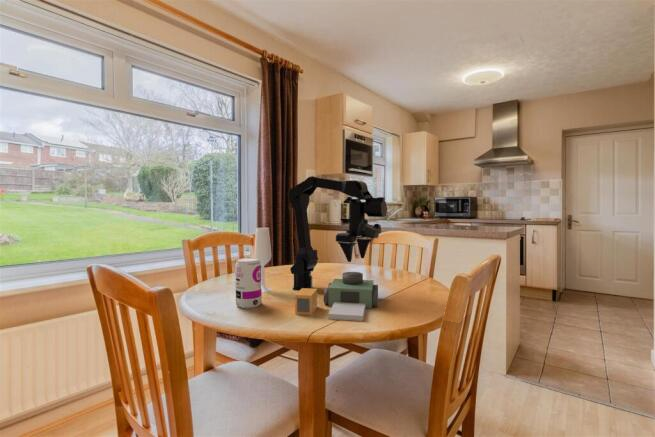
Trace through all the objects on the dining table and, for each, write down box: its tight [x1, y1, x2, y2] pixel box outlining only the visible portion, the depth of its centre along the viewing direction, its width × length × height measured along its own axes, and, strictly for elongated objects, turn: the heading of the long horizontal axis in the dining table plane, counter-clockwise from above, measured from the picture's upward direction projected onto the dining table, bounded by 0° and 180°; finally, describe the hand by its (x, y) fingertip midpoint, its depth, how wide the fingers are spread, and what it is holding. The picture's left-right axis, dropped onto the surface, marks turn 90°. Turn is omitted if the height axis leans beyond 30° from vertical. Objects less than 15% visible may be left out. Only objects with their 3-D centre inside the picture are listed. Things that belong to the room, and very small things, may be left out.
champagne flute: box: [253, 227, 273, 294], centre depth 127 cm, size 7×7×24 cm
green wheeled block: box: [323, 271, 379, 322], centre depth 107 cm, size 17×25×9 cm
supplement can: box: [234, 257, 263, 309], centre depth 109 cm, size 8×8×15 cm
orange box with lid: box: [294, 288, 318, 316], centre depth 104 cm, size 5×8×6 cm, turn 170°
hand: (356, 260), depth 119 cm, fingers open, 9 cm apart
